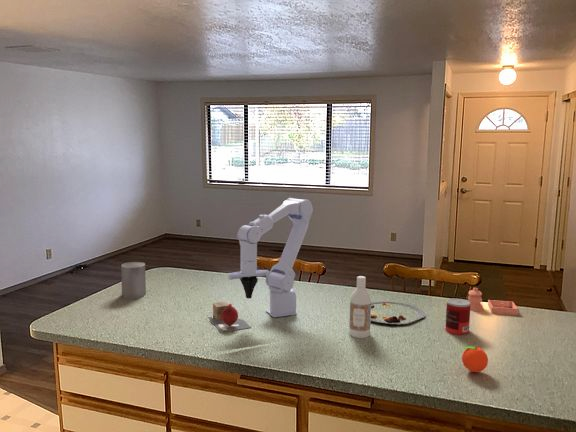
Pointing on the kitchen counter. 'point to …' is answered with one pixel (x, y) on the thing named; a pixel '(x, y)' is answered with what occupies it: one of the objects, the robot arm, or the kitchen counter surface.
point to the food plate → (394, 319)
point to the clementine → (474, 359)
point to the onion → (229, 315)
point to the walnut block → (219, 309)
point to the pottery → (491, 304)
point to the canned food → (457, 316)
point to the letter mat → (224, 328)
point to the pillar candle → (133, 280)
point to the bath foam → (360, 310)
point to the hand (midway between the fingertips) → (248, 297)
